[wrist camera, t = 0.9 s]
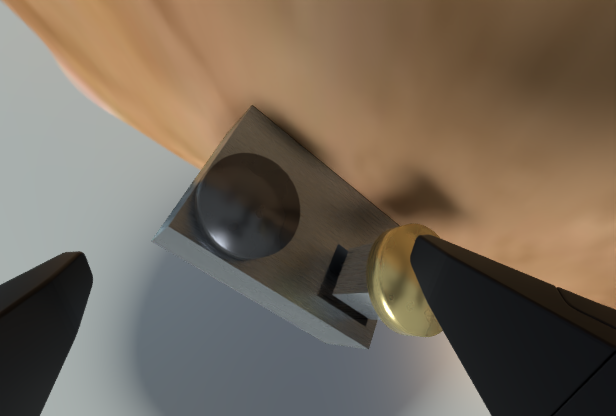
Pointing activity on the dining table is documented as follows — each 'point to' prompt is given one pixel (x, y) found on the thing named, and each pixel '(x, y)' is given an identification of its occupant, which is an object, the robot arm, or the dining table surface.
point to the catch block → (303, 246)
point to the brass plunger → (388, 283)
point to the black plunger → (247, 206)
